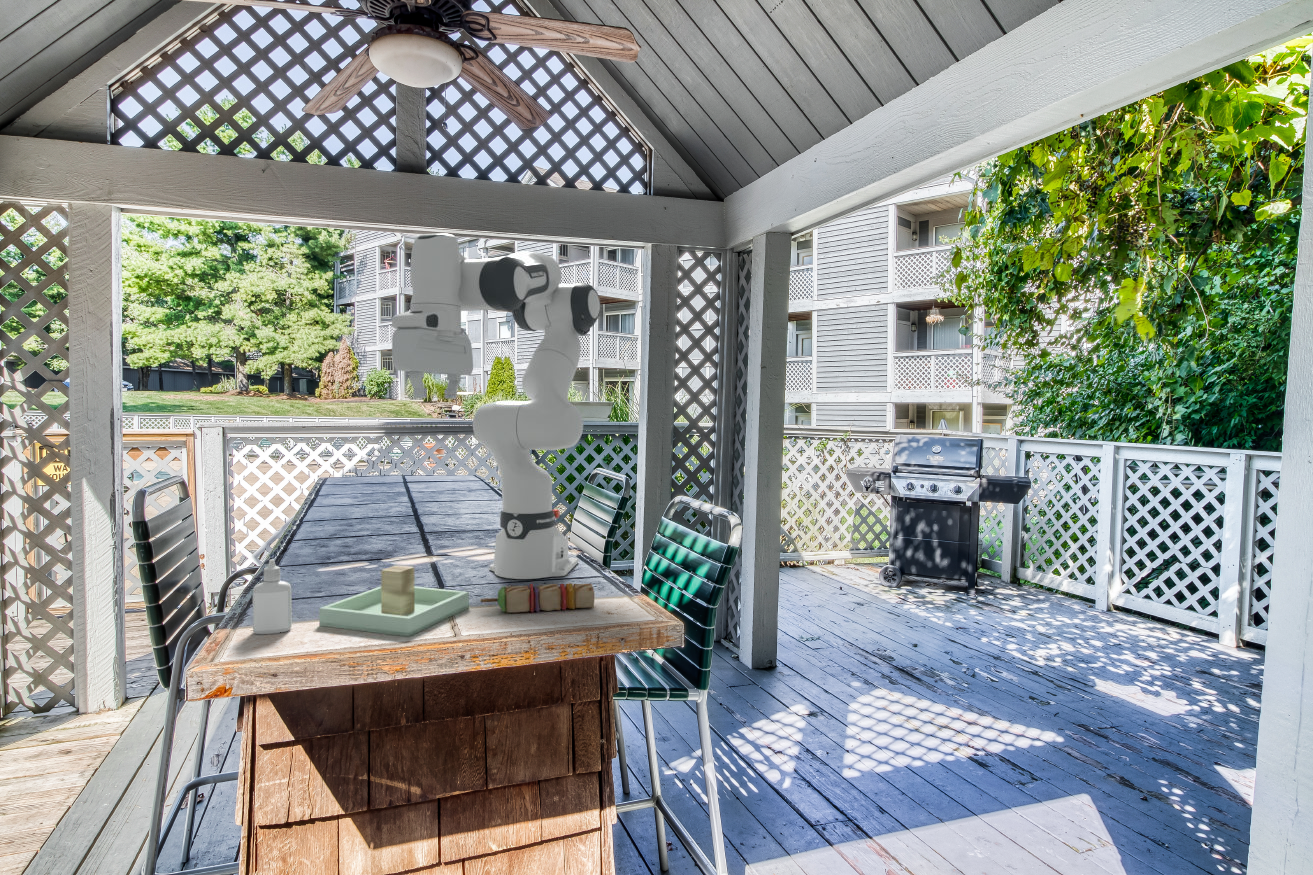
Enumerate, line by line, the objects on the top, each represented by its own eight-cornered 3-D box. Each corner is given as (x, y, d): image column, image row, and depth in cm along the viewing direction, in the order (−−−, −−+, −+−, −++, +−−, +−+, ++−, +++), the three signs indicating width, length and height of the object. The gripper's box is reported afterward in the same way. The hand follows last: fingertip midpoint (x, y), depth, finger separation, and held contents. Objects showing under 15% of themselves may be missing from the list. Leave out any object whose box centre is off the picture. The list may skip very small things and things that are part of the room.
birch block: (395, 608, 132) (395, 565, 132) (414, 610, 131) (414, 567, 130) (381, 614, 128) (381, 570, 128) (400, 616, 127) (400, 571, 127)
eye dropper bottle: (279, 636, 118) (278, 563, 117) (248, 634, 118) (247, 561, 118) (296, 628, 122) (295, 557, 121) (266, 626, 123) (265, 556, 122)
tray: (388, 598, 141) (387, 583, 141) (468, 607, 135) (469, 591, 135) (319, 625, 124) (319, 608, 123) (409, 636, 118) (408, 618, 118)
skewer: (590, 602, 140) (590, 577, 140) (595, 612, 134) (595, 585, 134) (481, 608, 136) (480, 582, 136) (480, 618, 130) (480, 591, 129)
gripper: (453, 329, 142) (453, 399, 143) (385, 316, 123) (385, 397, 124) (481, 328, 141) (481, 399, 141) (416, 315, 121) (417, 397, 122)
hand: (435, 398), depth 132 cm, fingers open, 8 cm apart
